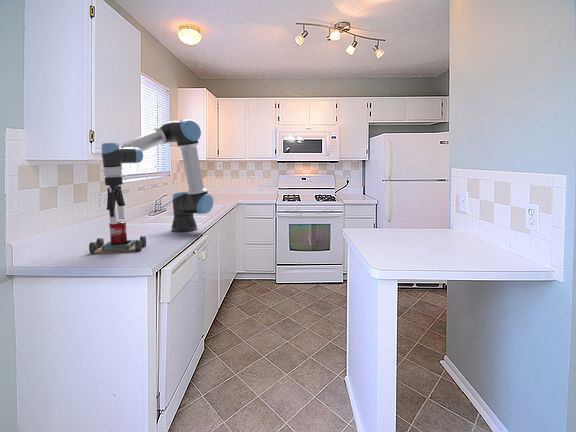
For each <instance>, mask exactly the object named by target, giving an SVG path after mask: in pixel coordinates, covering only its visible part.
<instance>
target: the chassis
mask: <svg viewBox="0 0 576 432" xmlns="http://www.w3.org/2000/svg"><path fill="white" fill-rule="evenodd" d="M146 246H147V237H146V236H145V235H141V236H140V237H139V239H127V244H125V245H111V240H109V241H107V242H105V241H104V238H103V237H101V238H99V237H97V239H96V241H94V242H91V241H90V242H89V244H88V250H89V253H90V254H93V255H104V254H107V253H108V254H121V253H122V254H123V253H124V254H126V253H136V252H138V251H142V250H143V247H146ZM108 254H107V255H108Z"/></svg>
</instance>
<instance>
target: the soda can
mask: <svg viewBox="0 0 576 432" xmlns="http://www.w3.org/2000/svg"><path fill="white" fill-rule="evenodd" d="M108 225H109V226H108V227H109V238H110V240H109V241H111V245H125V244H127V240H128V235H127V223H126V221H124V220H117V224H110V222H109V223H108Z"/></svg>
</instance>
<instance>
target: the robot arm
mask: <svg viewBox="0 0 576 432" xmlns="http://www.w3.org/2000/svg"><path fill="white" fill-rule="evenodd" d="M201 135H202V131H201V127H200V125H199V124H198V123H197V122H196V121H195V120H193V119H183V120H182V119H180V120H171V121H168V122H166V123H164V124H162V125H160V126H158V127H155V128H153V129H152V131H150V132H148V133H146V134H143V135H141V136H138V137H136V138H133V139H131V140H129V141H126V142H124V143H122V144H123V145H122V147H119V145H120V144H119V143H118V142H104V143H101V155H102V156H101V159H102V158H103V159H102V165H103V169H102V172H103V174H104V184H105V186H109V187H107V200H106V202H107V203H106V211H108V214H109V223H110V224H117V221H122V220H125V210H124V207H125V206H126V203H125V198H124V195H123V193H122V185H123V184H124V183H123V177H122V175H123V174H122V173H123V172H122V164H137V163H141V162H142V161H143V158H144V152H145V151H146V150H149V149H151V148H153V147H156V146H158V145H165V144H169V143H176V145H177V147H178V148H179V149H180V151H181V154H182V155H181V156H182V160H183V166H184V170H185V175H186V180H187V181H186V182H187V186H188V191H181V192H174V193H173V194H172V212H173V218H172V219H173V221H172V224H171V228H170V229H171V231H172V232H176V233H177V232H179V233H180V232H192V231H196V230H198V225H197V222H196V220H195V217H194V214H198V215H205V214H208V213H210V212H211V211H212V208H213V207H214V198H213V196H212V195H211V194H210V193H208V189H207V188H206V187H205V185H204V181H203V174H202V169H201V164H200V158H199V154H198V147H197V146H198V144H199V140H200V138H201ZM116 204H117V207H116ZM116 208H117V210H116ZM116 211H117V212H116ZM117 219H118V220H117Z"/></svg>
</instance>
